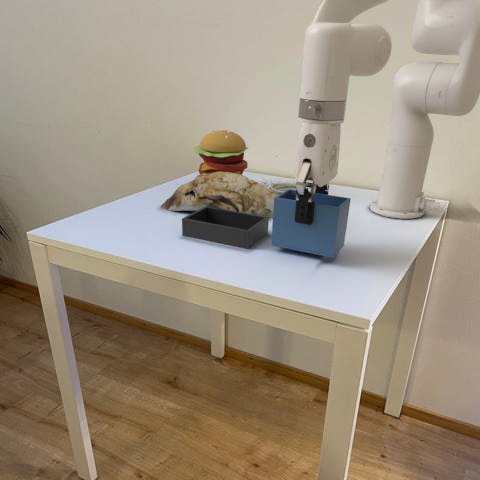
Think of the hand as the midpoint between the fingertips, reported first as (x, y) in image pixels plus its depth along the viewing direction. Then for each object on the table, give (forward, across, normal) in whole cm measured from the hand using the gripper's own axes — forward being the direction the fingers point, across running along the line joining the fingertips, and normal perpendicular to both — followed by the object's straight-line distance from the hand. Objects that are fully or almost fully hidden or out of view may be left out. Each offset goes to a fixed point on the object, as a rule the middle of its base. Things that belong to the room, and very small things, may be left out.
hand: (310, 216), depth 87 cm
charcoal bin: (+7, 0, +18) cm, 19 cm away
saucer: (+7, +34, +17) cm, 39 cm away
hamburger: (+7, +31, +35) cm, 47 cm away
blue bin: (+6, 0, 0) cm, 6 cm away
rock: (+7, +16, +26) cm, 31 cm away
